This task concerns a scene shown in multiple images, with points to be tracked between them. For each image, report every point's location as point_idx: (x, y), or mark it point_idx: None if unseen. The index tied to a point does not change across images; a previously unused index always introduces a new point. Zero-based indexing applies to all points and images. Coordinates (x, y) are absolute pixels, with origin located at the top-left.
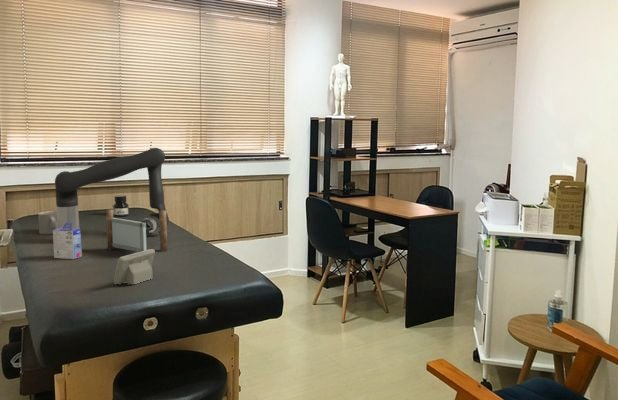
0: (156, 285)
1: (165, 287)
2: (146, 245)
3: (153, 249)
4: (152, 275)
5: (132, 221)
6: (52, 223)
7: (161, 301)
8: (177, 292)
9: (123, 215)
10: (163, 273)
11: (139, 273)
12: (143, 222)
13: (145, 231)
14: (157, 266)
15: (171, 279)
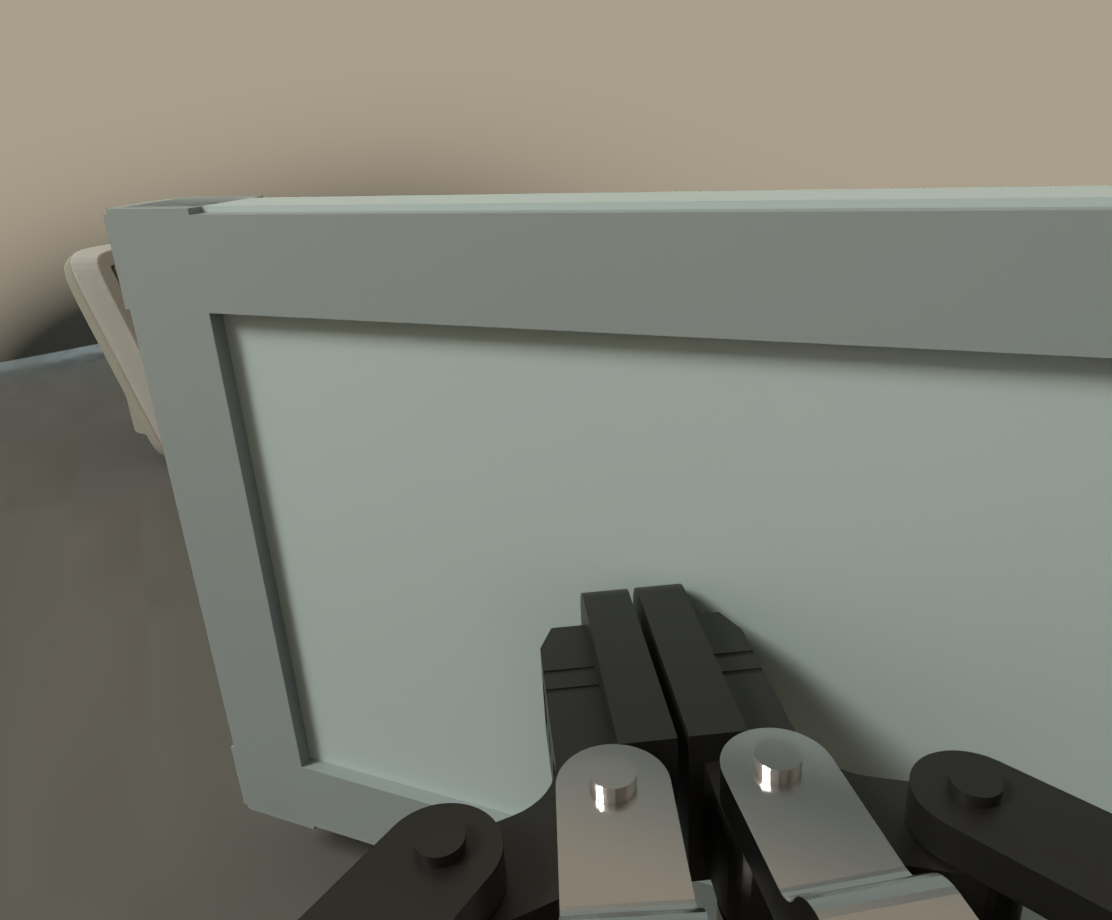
0: (111, 400)
1: (61, 396)
2: (222, 696)
3: (71, 256)
4: (129, 408)
5: (494, 194)
6: None
7: (94, 345)
8: (6, 381)
9: None
10: (46, 489)
11: None
12: (165, 207)
13: (167, 412)
14: (87, 571)
15: (3, 445)
